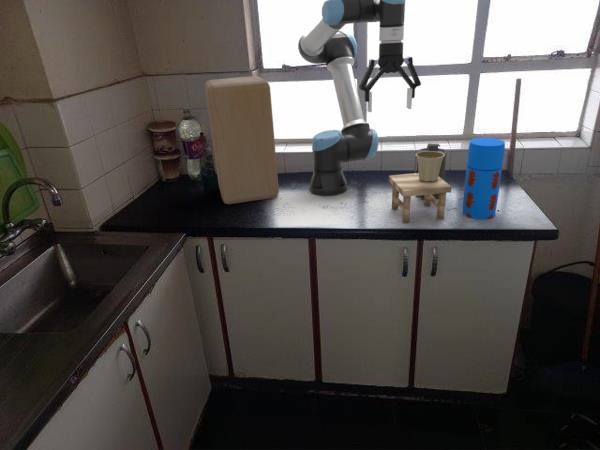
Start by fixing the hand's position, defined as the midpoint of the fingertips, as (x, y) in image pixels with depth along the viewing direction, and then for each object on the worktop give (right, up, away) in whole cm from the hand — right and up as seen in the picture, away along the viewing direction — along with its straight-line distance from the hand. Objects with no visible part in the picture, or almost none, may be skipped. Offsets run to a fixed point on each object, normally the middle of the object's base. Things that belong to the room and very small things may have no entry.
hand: (389, 110), depth 148 cm
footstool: (+11, -35, +6) cm, 37 cm away
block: (-51, -26, +34) cm, 67 cm away
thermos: (+31, -35, +3) cm, 47 cm away
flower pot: (+14, -23, +2) cm, 27 cm away
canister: (+19, -28, +21) cm, 39 cm away
